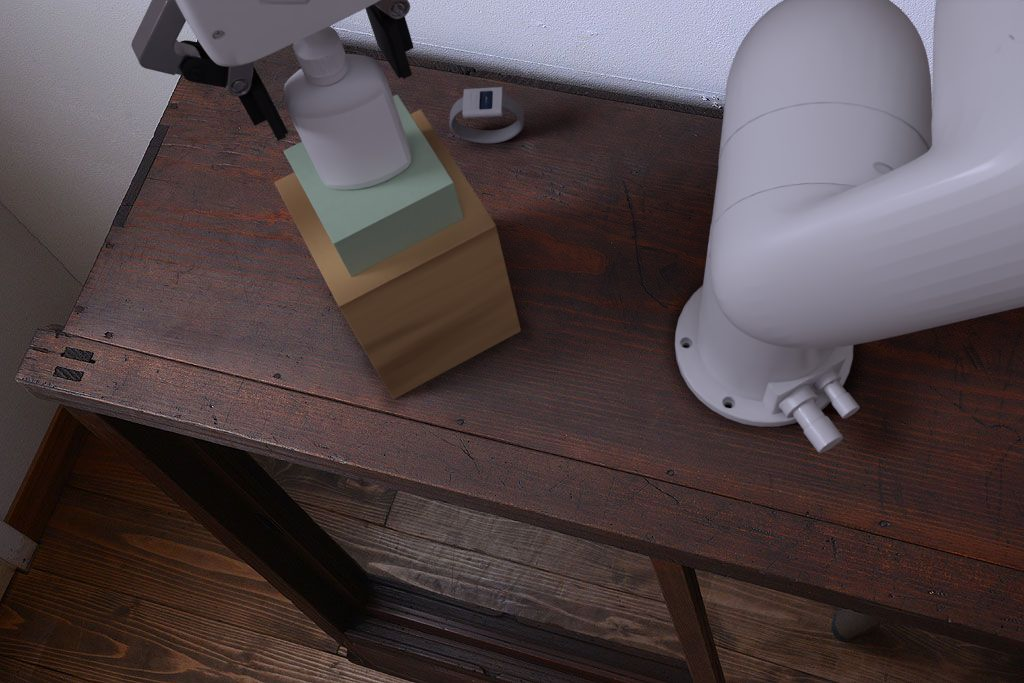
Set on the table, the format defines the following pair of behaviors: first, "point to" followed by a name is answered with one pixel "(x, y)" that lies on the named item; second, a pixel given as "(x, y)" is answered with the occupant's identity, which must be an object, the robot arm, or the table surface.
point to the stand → (419, 287)
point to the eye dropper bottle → (345, 114)
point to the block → (383, 203)
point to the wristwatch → (485, 115)
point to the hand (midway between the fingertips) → (334, 89)
